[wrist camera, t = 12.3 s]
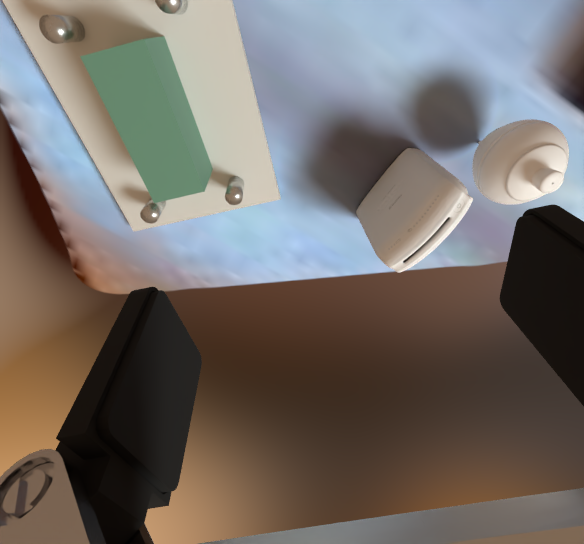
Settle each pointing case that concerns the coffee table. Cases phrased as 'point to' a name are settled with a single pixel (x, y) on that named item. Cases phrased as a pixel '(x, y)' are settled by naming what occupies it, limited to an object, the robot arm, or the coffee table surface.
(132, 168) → the standoff plate
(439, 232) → the photo printer
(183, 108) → the board block
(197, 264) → the coffee table surface
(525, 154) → the spinning top
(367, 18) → the coffee table surface
